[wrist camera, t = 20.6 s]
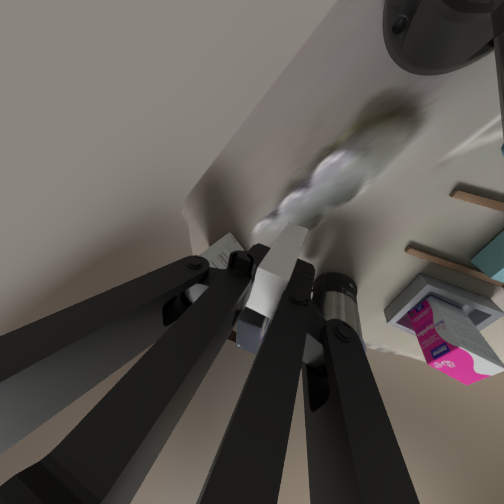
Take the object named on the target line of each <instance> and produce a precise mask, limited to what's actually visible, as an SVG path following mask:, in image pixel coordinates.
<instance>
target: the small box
mask: <svg viewBox="0 0 504 504" xmlns="http://www.w3.org/2000/svg"><path fill="white" fill-rule="evenodd" d="M269 320H270V318H268V317H266V316H264V315H262V314H260V313H258V312H256V311H254V310H252V309H250V308H248V307H245V308H244V310H243V312H242V314H241V316H240V318H239V319H238V321H237V338H236V346H238V347H240V348H242V349H245V350H247V351H250V352H252V353H254V354H257V352H258V350H259V347H260V345H261V342H262V340H263V338H264V334H265V332H266V330H267V328H268V325H269Z"/></svg>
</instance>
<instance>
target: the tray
mask: <svg viewBox="0 0 504 504" xmlns="http://www.w3.org/2000/svg"><path fill="white" fill-rule="evenodd" d="M428 295H433V296H435V297H437V298H440V299H442V300H444V301H446V302H448V303H450V304H453V305H455V306H457V307H459V308H461V309H463V311H464V312H465V313H466V314H467V316H468V317H469V319H470V320H471V321H472V323H473V324H474V325H475V327H476V328H477V329H478V331H481V330H482V329H484V328H485V327H487V326H488V325H490V324H491V323H493V322H494V321H496V320H497V319H499V318H501V317H502V316H504V312H503V311H502V310H501V309H500V308H499V307H498V306H497V305H496V304H495V303H494V302H493V301H492V300H491V299H489V298H486V297H483V296H480V295H478V294H475V293H472V292H470V291H467V290H464V289H462V288H459V287H456V286H454V285H451V284H448V283H446V282H443V281H440V280H437V279H435V278H432V277H429V276H427V275H424V274H421V273H420V274H419V275H418V276H417V277H416V278H415V279H414V280H413V281H412V282H411V283H410V284H409V285H408V286H407V287H406V288H405V289H404V291H403V292H402V293H401V294H400V295H399V296H398V297H397V298H396V299H395V300H394V301H393V302H392V303H391V304H390V305H389V306H388V307H387V308H386V309H385V310H384V314H385V317H386V321H387V324H389V325H392V326H394V327H396V328H398V329H401V330H403V331H405V332H408V333H410V334H412V335H414V336H416V333H415V331H414V328H413V326H412V323H411V321H410V318H409V316H408V313H407V312H408V311H410V310H411V309H413V308H414V307H415V306H416V305H418V304H419V303H420V302H422V301H423V300H424V299H425V298H426V297H427V296H428Z"/></svg>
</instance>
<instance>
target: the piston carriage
mask: <svg viewBox="0 0 504 504" xmlns="http://www.w3.org/2000/svg"><path fill="white" fill-rule="evenodd" d="M470 262H472V263H473V264H474V265H475V266H476V267H478V268H479V269H480V270H481V271H482V272H484V273H485V274H486V275H487V276H488V277H490V278H491V279H494V280H497V281H500V282H502V283H504V230H503V231H502V232H501V233H500V234H499V235H498V236H497V237H496V238H495V239H494V240H492V241H491V242H490V243H489V244H488V245H487V246H486V247H485V248H484V249H483V250H481V251H480V252H479V253H478V254H477V255H476V256H475V257H474V258H473V259H472V260H470Z"/></svg>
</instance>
